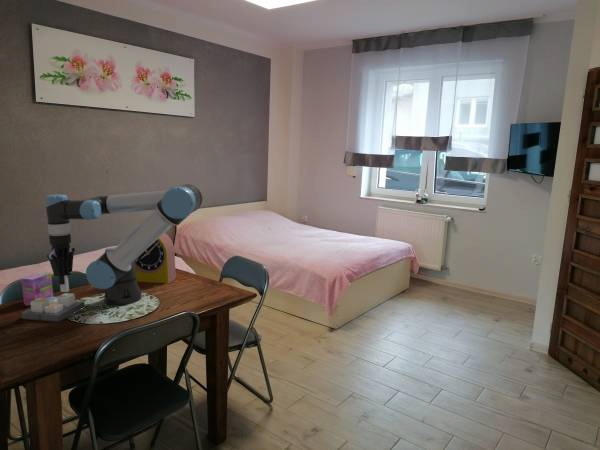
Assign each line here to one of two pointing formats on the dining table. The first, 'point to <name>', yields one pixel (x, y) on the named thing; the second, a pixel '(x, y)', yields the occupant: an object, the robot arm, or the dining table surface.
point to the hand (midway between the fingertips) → (64, 291)
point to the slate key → (53, 300)
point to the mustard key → (39, 305)
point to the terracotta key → (53, 308)
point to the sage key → (66, 299)
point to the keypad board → (53, 316)
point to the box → (37, 287)
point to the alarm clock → (157, 262)
